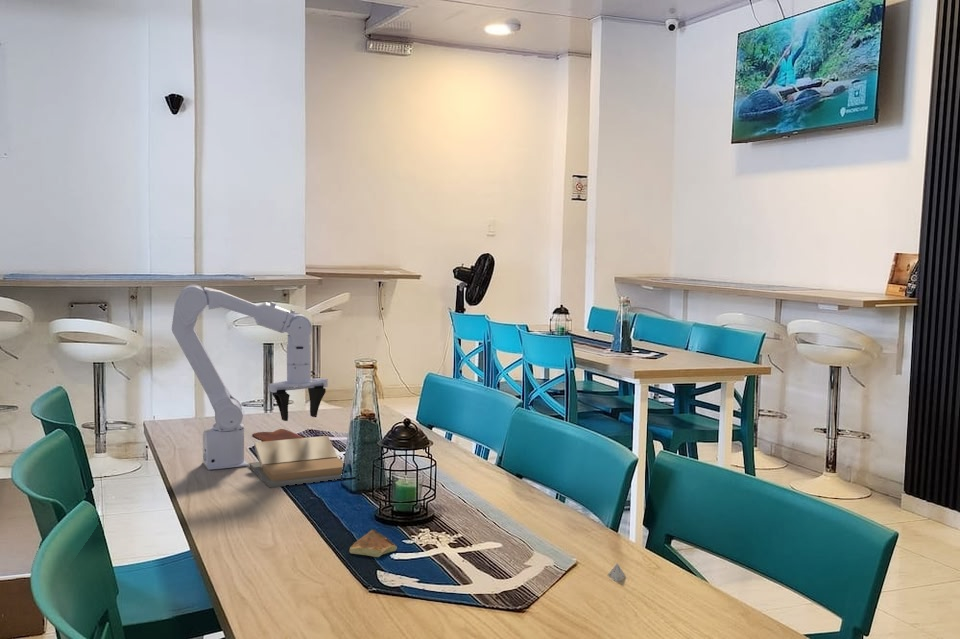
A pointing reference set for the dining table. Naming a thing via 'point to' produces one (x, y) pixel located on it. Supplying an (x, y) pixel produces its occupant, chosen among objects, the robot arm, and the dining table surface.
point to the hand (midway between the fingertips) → (299, 418)
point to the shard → (373, 545)
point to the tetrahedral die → (616, 573)
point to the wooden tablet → (276, 435)
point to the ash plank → (294, 450)
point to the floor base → (289, 482)
